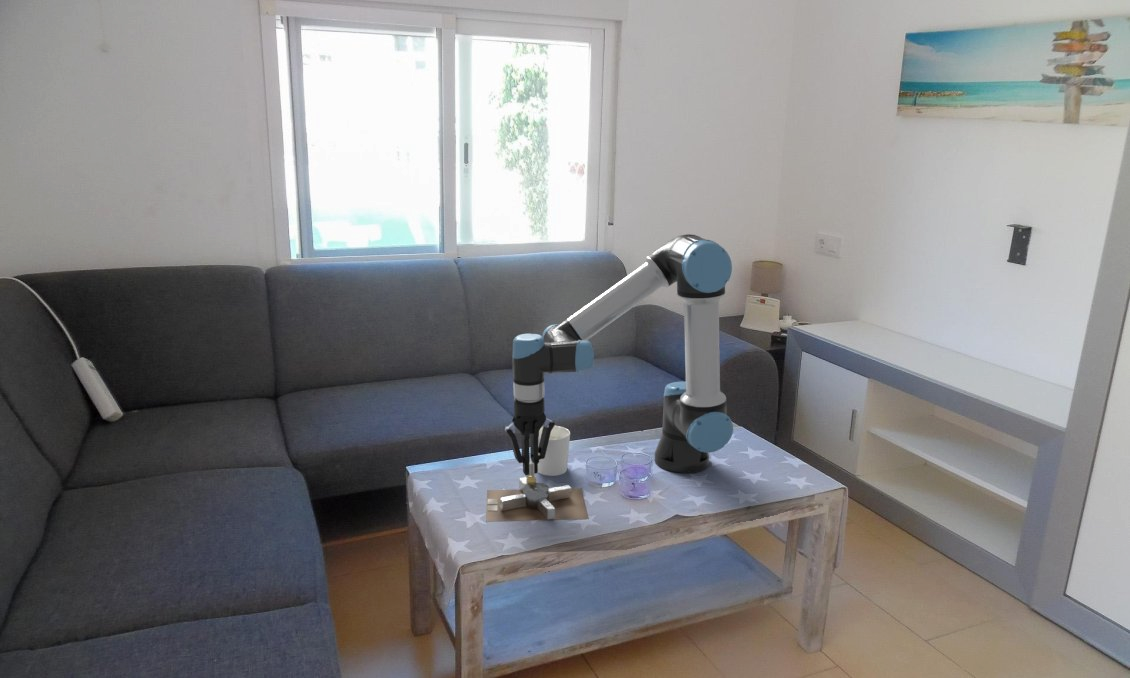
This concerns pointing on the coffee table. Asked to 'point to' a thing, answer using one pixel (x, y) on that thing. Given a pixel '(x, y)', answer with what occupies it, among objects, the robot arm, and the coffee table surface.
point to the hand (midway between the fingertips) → (530, 485)
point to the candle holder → (555, 452)
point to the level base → (563, 509)
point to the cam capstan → (536, 496)
